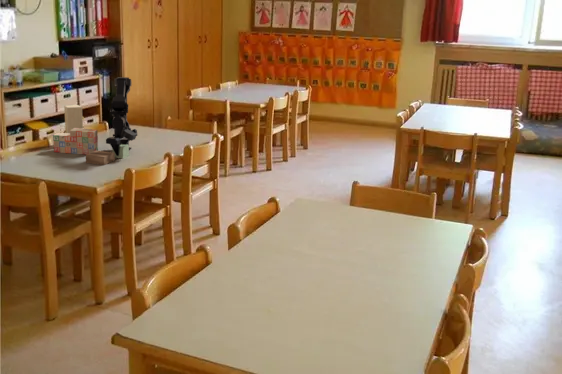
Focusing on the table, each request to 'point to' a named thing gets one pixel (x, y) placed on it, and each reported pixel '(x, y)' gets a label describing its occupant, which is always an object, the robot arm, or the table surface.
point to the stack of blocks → (76, 141)
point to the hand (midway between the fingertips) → (120, 154)
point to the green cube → (122, 151)
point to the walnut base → (100, 157)
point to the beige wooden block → (73, 117)
